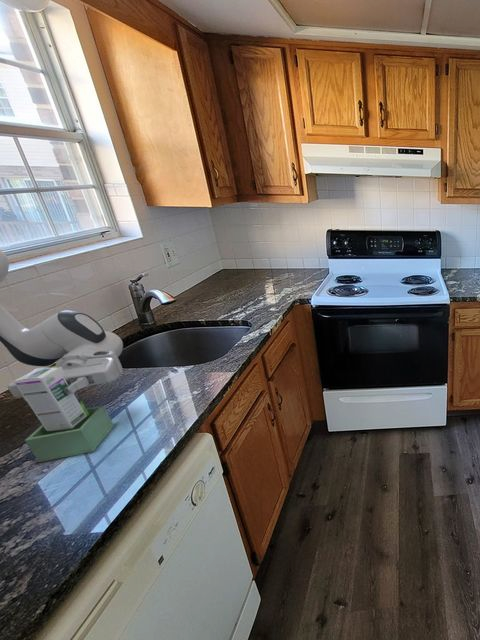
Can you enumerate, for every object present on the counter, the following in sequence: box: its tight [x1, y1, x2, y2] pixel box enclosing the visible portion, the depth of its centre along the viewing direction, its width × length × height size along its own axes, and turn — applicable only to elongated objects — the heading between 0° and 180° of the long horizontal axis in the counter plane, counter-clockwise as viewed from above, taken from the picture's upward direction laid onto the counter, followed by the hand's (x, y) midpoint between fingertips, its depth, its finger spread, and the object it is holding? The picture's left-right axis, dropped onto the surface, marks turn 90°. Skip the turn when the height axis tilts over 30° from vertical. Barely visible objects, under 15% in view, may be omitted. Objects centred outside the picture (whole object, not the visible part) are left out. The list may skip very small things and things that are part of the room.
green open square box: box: [24, 405, 115, 463], centre depth 91 cm, size 11×11×7 cm
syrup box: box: [13, 365, 89, 431], centre depth 87 cm, size 6×6×14 cm
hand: (47, 394), depth 85 cm, fingers closed on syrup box, 6 cm apart
